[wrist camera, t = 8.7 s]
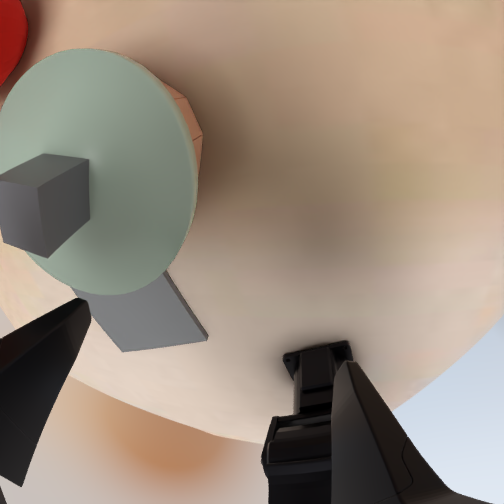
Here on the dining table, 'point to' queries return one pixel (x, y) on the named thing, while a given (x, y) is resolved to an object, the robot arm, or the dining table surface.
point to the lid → (96, 171)
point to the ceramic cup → (11, 36)
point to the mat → (146, 316)
